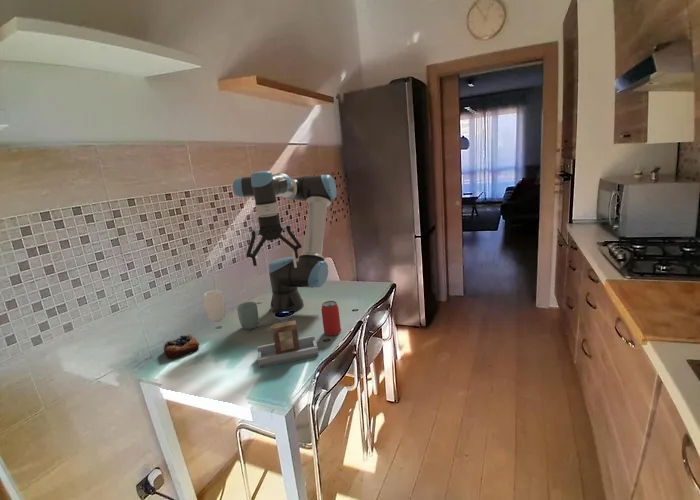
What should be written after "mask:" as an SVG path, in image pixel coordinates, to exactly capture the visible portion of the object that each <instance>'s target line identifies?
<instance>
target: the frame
mask: <svg viewBox="0 0 700 500" xmlns="http://www.w3.org/2000/svg"><path fill="white" fill-rule="evenodd" d="M297 327H298V326H297V322H296V319H294V320H288V321H285V322H278V323H274V324H271V330H272V336H273V343H275V349H276V355H278V354H282V353H287V352H292V351H297V350H300V347H299V340H298V338H299V335H298V334H299V333H298V328H297Z"/></svg>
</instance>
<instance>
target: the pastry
mask: <svg viewBox="0 0 700 500" xmlns="http://www.w3.org/2000/svg"><path fill="white" fill-rule="evenodd" d="M199 346H200V342H199V341H198V339H197V338H196V337H194V336H193V335H192V334H185V335H180V336H179V338H175V339H170V340H168V341H166V342H165V343H164V346H163V353H164V355H165V356H166V358H167V359H169V360H171V361H172V360H176V359H179V358H182V357H185V356H187V355H190V354H192V353H196V352H197V350H198V351H199V350H200V349H199V348H200V347H199Z"/></svg>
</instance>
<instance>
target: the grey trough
mask: <svg viewBox="0 0 700 500" xmlns="http://www.w3.org/2000/svg"><path fill="white" fill-rule="evenodd" d="M315 337H316V336H315V335H314V334H313V335H310V336H309V335H307V336H303V337H298V340H299V347H300V350H297V351H292V352H287V353H282V354H278V355H276V349H275V343H274V342H272V343H269V344H264V345H258V346H256V349H257V362H258V368H259V369H262V368H266V367H270V366H271V367H272V366H277V365H280V364H285V363H290V362H294V361H299V360H305V359H309V358H313V357H318V356H320V355H319V348H318V345H317V341H316V338H315Z"/></svg>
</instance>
